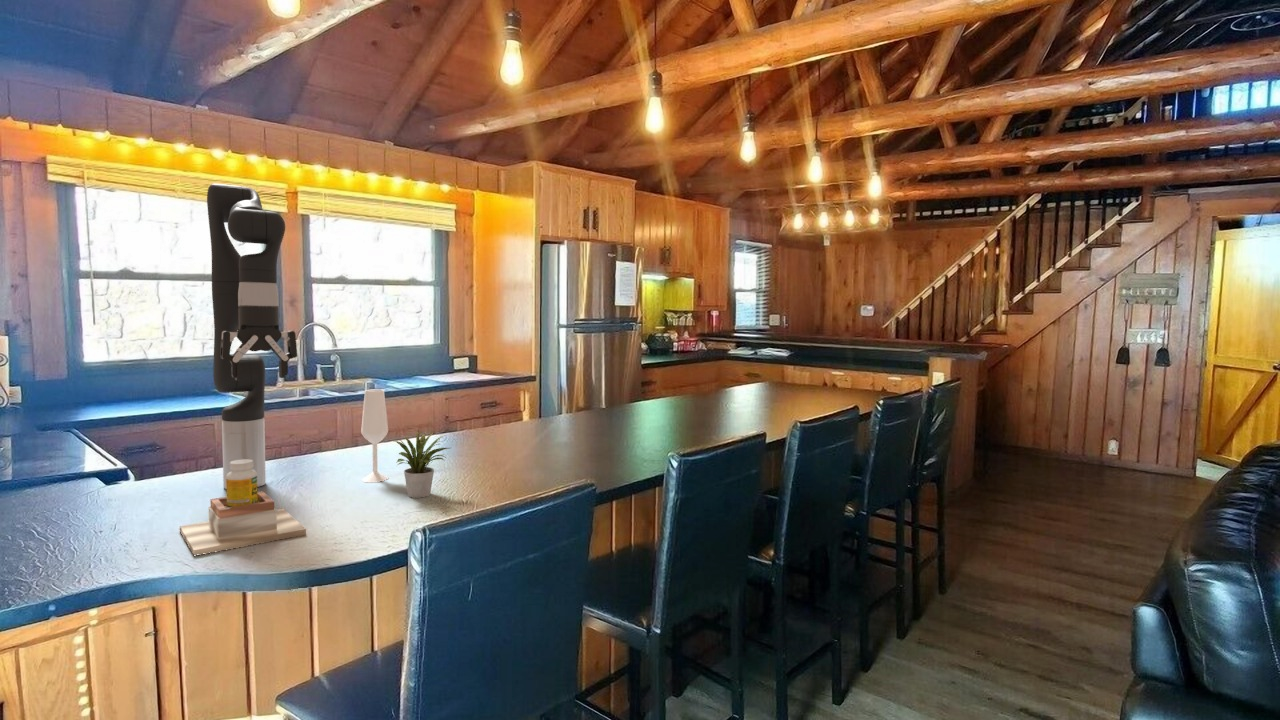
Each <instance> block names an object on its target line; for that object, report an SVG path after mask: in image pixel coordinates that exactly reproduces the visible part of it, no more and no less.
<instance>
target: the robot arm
mask: <svg viewBox="0 0 1280 720" xmlns="http://www.w3.org/2000/svg"><path fill="white" fill-rule="evenodd" d="M206 192H207V194H206V204H207V216H208V225H209V227H208V228H209V236H210V238H209V239H210V246H211V247H210V248H211V250H210V251H211V297H212V298H211V299H212V310H213V311H212V312H213V324H214V325H213V331H214V334H213V336H214V338H213V367H212V368H213V370H212V372H213V373H212V375H213V383H214V386H215V387H214V388H215V389H216V391H217V392H219V393H222V394H225V393H226V394H227V393H243V392H244V393H245V392H246V393H247V395H246V396H245V397H243V399H241V400H239V401H238V402H235V403H233V404H230V405H227V406H225V407H223V408H222V410H221V435H222V436H221V437H222V438H221V439H222V440H221V443H222V444H221V445H222V475H223V477H222V479H223V480H222V481H223V484H222V485H223V487H222V488H223V489H225V490H227V489H226V476H227V474H228V473H229V472H231V470H230V462H231V461H235V460H241V459H250V460H253V467H252V469H253V470H255V471H256V472H257V488H260V487H262V486H264V485H266V484H267V482H266V481H267V480H266V478H267V477H266V437H265V436H266V433H265V431H266V430H265V429H266V428H265V390H266V389H265V387H266V386H265V385H266V369H265V368H266V366H265V365H266V364H265V362H264V359H263V358H262V356H261V355H257V354H247V352H248V351H250V352H259V351H263V352H269V351H272V352H273V353H274V354H275V355H276V356H277V358H278V359H279V360H278V377H279V379H284V378H286V376H288V374H289V361H290V360H291V359H295V358H297V356H298V352H297V338H296V332H295V331H293V330H287V331H281V330H280V320H279V318H280V317H279V305H280V299H279V290H278V289H279V288H278V284H277V282H278V280H277V279H278V275H277V271H278V269H277V264H278V256H279V253H280V248H281V246H282V243H283V240H284V236H285V231H286V223H285V220H284V218H283V217H282V216H281V214H279V213H278V212H275V211H271V210H270V211H267V210H264V209H263V205H262V202H261V198H260V195H259V193H258V192H257V190H255V189H254V188H252V187H250V186H249V187H248V186H241V185H232V184H225V183H224V184H223V183H211V184H210V185H209V186H208V188H207V191H206ZM225 223H227V229H226V227H225ZM227 230H228V232H229V235H230V236H229V235H228V232H227ZM230 237H231V238H232V239H233V240H234V241H235V242H239V243H244V244H245V243H246V244H260V245H261V244H262V245H265V248H264V250H262V251H261V252H258V253H249V254H244V255H241V254H240V253H239V252H238V250H237V249H236V248H235V246H234V245H233V243H232V241H231V239H230ZM235 338H237V339H238V340H239V342H240V344H239V346H238V347H237V349H236V351H235V352H234V353H233V354H231V347H232V344H233V342H234V340H235ZM281 338H283V340H284V341H285V342H286V344H287V353H285V352H284V350H283V349H282V347H280V345H279V344H278V342H279V341H280V340H281Z"/></svg>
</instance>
